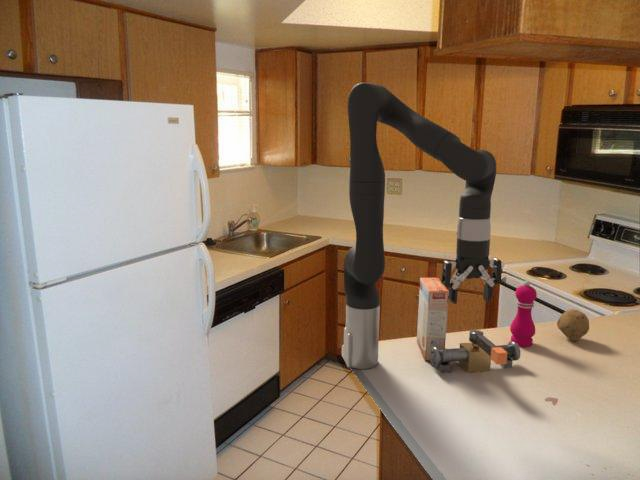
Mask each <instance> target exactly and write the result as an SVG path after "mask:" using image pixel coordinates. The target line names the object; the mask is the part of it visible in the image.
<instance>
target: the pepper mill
mask: <svg viewBox="0 0 640 480" xmlns="http://www.w3.org/2000/svg"><path fill="white" fill-rule="evenodd" d="M537 295H538V294H537V291H536V288H534V287H533V286H531V283H530V281H529V280H525V281H524V282H523V284H522V285H519V286H518V287H517V288H516V289H515V293H514V296H515V297H516V299H517V300H516V303H515V304H516V306H517V311H516V315H515V317H514V318H513V320H512V322H511V325H510V327H509V331H510V333H511V336H510V342H512V341H515V342H517V344H518V345H519V348H520V347H521V348H530V347H532V346H533V341H534V340H533V339H534V338H533V336H535V335H536V326H535V323H534V320H533V317H532V310H533V308H534V306H535V302H534V301H535V300H536V299H537Z"/></svg>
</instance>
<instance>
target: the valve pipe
mask: <svg viewBox="0 0 640 480" xmlns="http://www.w3.org/2000/svg"><path fill="white" fill-rule="evenodd" d="M496 346H497V347H501V348H503V349H504V350H505V351H506V352H508V353H507V364H498V365H500V367H502V368H503V369H512V368H513V362H514V361H519V360H520V357H521V348H520V347H519V345H518V344H517V342H515V341H512V342H511V341H508V343H507V344H498V345H497V344H496ZM430 359H431V360H430V362H431V364H432V366H433V367H436V368H437V369H438V371H440V373H442V374H448V373H451V371H452V368H451V367H452V365H451V363H458V364H459V366H461V367H462V369H463V370H464V371H465V372H467V373H468V374H473V373H483V372H485V373H486V372H491V364H492V360H491V356H490V355H488V354H487V353H486V352H485V351H484V350H483V349H481V348H480V347H479V346H478V345H477V344H476V343H472V342H460V343H459V347H457V348H445V349H440V350H439V349H438V347H432V348H431V350H430Z"/></svg>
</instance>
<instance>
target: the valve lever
mask: <svg viewBox="0 0 640 480" xmlns="http://www.w3.org/2000/svg"><path fill="white" fill-rule="evenodd" d="M468 341H469V343H471V342H472V343H476V344H477V345H478V346H479V347H480V348H481V349H483V350H484V351H485V352H486V353H487V354H488V355H490V356H491V362H493V363H495V364H496V365H499V364H507V353H508V352H506V351H505V350H504V349H503V348H501V347H497V344H495V343H494V342H492V341H491V340H489V339H488V338H487V337H486V336H485V335H484V332H483V331H481V330H478V329H471V330H470V331H469V338H468Z"/></svg>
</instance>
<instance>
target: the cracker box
mask: <svg viewBox="0 0 640 480" xmlns="http://www.w3.org/2000/svg"><path fill="white" fill-rule="evenodd" d="M418 291H419V294H418V312H417V315H418V316H417V329H416V331H417V332H416V343H417V344H418V348H419V350H420V352H421V354H422V356H423V359H424V361H431V359H430V350H431V348H432V347H438V349H439V350H440V349H446V340H447V339H446V338H447V325H448V323H447V322H448V310H449V298H448V297H449V289H448V288H447V287H446V286H444V285H443V284H442V283H441V279H440V278H439V277H420V278H419V290H418Z"/></svg>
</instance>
